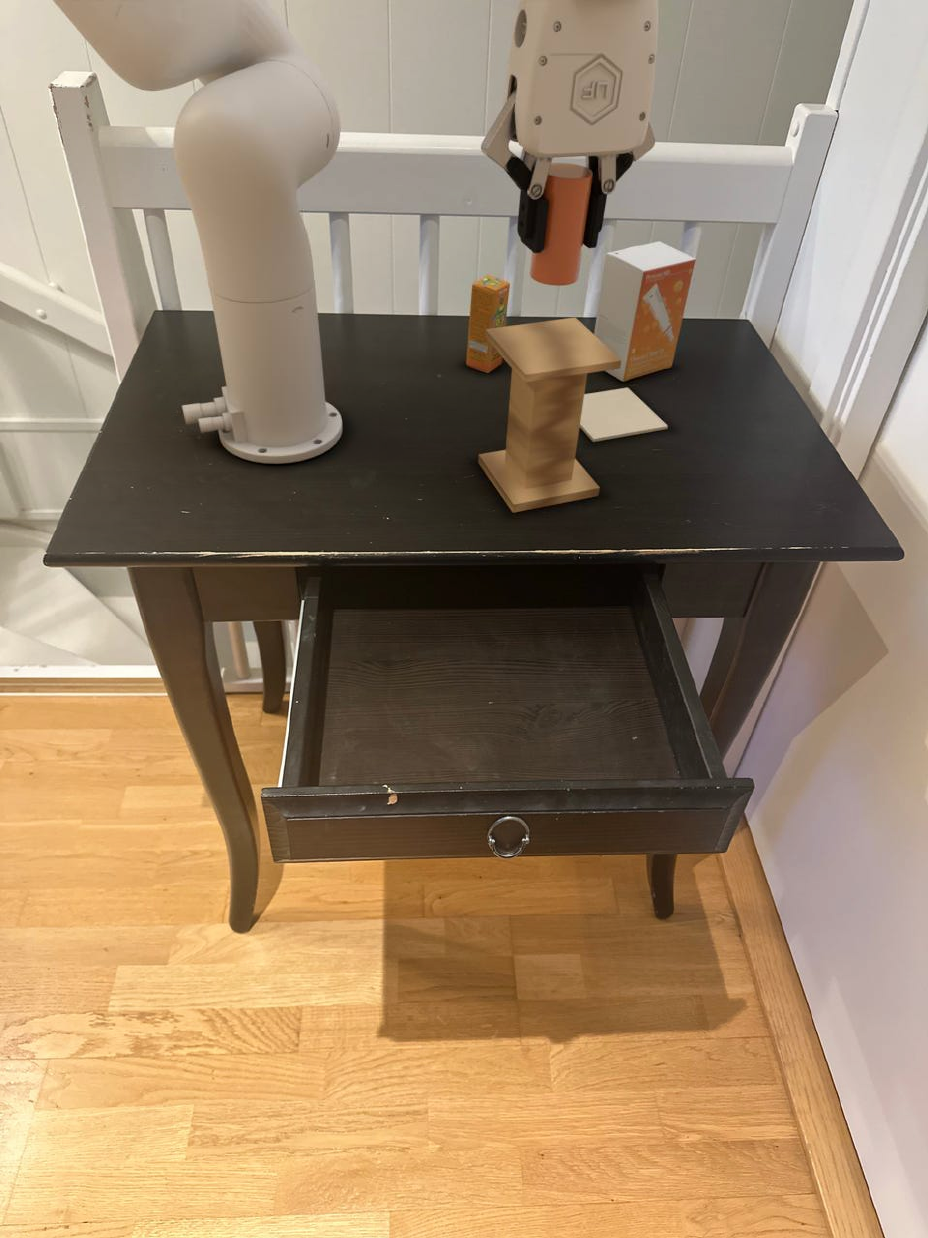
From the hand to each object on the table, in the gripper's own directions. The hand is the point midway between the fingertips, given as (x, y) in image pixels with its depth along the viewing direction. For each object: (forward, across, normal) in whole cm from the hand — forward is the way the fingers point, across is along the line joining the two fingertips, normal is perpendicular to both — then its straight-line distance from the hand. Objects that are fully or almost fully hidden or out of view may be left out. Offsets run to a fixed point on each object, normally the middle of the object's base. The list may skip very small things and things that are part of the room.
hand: (558, 241), depth 67 cm
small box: (+23, +22, +18) cm, 36 cm away
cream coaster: (+22, +14, +8) cm, 28 cm away
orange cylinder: (+3, 0, 0) cm, 3 cm away
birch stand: (+22, +1, 0) cm, 23 cm away
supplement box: (+23, +5, +24) cm, 33 cm away
